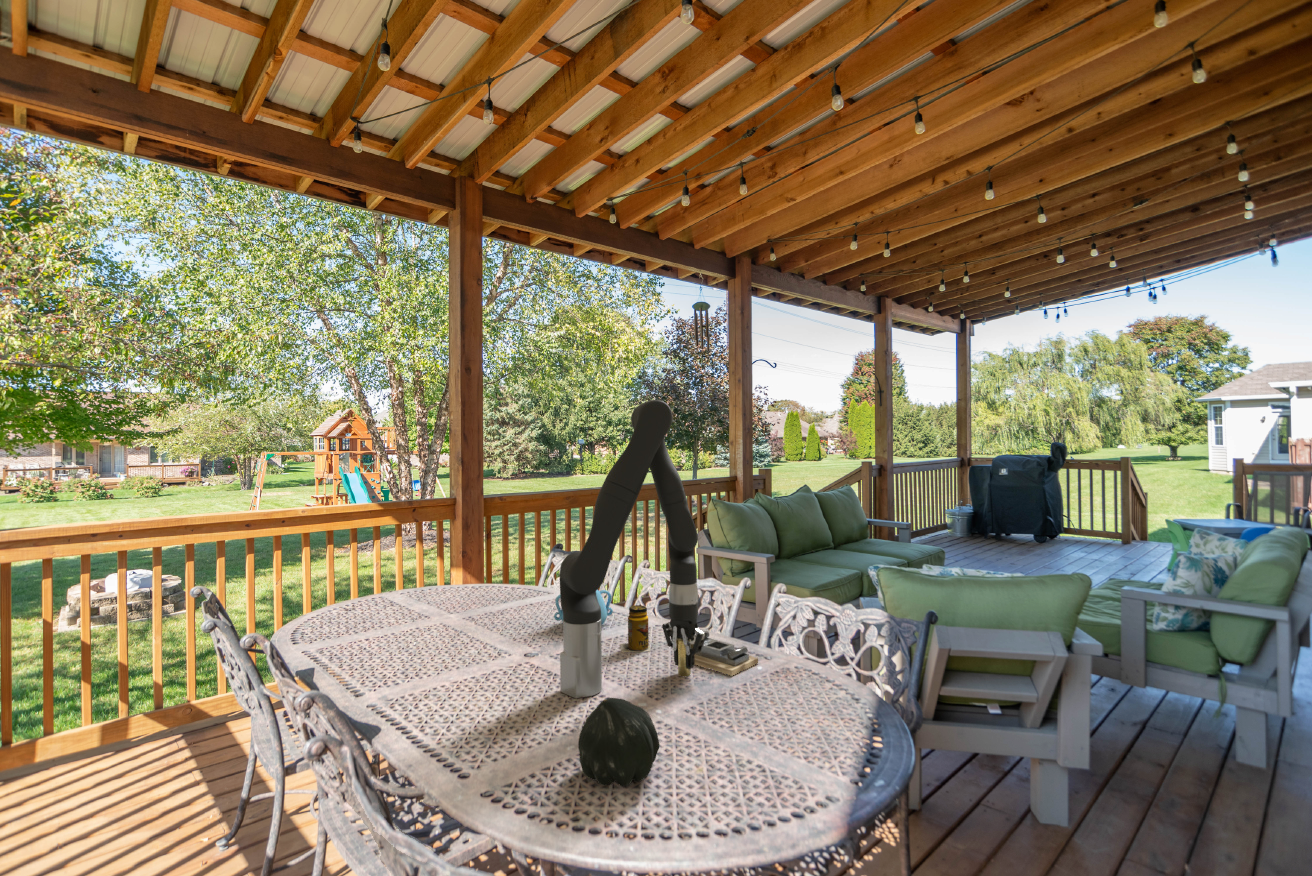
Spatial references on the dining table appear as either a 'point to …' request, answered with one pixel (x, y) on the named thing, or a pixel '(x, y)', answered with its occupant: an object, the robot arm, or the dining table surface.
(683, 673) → the brass pin
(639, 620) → the condiment
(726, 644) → the clamp block fixture
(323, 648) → the dining table surface
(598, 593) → the decorative pot
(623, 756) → the squash
